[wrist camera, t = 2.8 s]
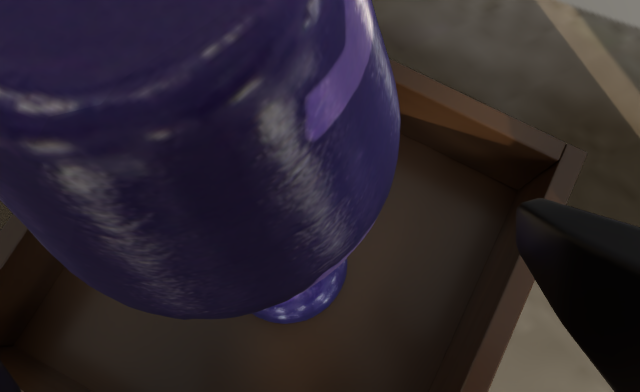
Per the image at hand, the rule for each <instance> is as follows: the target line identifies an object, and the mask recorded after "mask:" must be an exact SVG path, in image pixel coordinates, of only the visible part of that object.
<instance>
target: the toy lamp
mask: <svg viewBox="0 0 640 392" xmlns="http://www.w3.org/2000/svg"><path fill="white" fill-rule="evenodd" d="M400 123H401V118H400V108H399V100H398V94H397V89H396V83H395V79H394V75H393V72H392V68H391V64H390V61H389V58H388V54H387V51H386V48H385V45H384V41H383V38H382V35H381V32H380V29H379V26H378V22H377V18H376V15H375V11H374V8H373V4H372V0H0V201H1V202H2V203H3V204H4V205H5V206H6V207H7V208H8V209H9V210H10V211H11V212H12V213H13V214H14V215H15V216H16V217H17V218H18V219H19V220H20V221H21V222H22V223H23V224H24V225H25V226H26V227H27V228H28V230H29V231H30V232H31V233H32V234H33V235H34V236H35V237H36V239H37V240H38V241H39V242H40V243H41V244H42V245H43V246H44V247H45V248H46V249H47V250H48V251H49V252H50V253H51V254H52V255H53V256H54V257H55V258H56V259H57V260H58V261H59V262H61V263H62V264H63V265H64V266H65V267H66V268H67V269H68V270H69V271H70V272H71V273H73V274H74V275H75V276H77V277H78V278H79V279H81V280H82V281H83V282H85V283H86V284H87V285H89V286H90V287H92V288H94V289H95V290H97V291H99V292H101V293H102V294H104V295H106V296H108V297H110V298H112V299H114V300H116V301H118V302H120V303H122V304H124V305H126V306H128V307H131V308H134V309H137V310H140V311H143V312H147V313H151V314H156V315H161V316H165V317H170V318H176V319H183V320H187V319H225V318H234V317H238V316H243V315H247V314H253V315H255V316H256V317H258V318H261V319H264V320H266V321H268V322H273V323H280V324H289V323H296V322H301V321H305V320H308V319H310V318H313V317H314V316H316V315H318V314H319V313H321V312H322V311H323V310H324V309H326V308H327V307H329V305H330V304H331V303H332V302H333V301H334V300H335V298H336V297H337V295H338V294H339V292H340V290H341V289H342V286H343V283H344V282H345V278H346V274H347V257H348V256H349V255H350V254H351V253H352V252H353V251H354V249H355V248H356V247H357V246H358V245H359V244H360V243H361V241H362V240H363V239H364V238H365V236H366V235H367V233H368V232H369V230H370V229H371V228H372V226H373V225H374V223H375V221H376V219H377V217H378V215H379V213H380V211H381V209H382V207H383V205H384V203H385V201H386V199H387V197H388V194H389V191H390V188H391V186H392V182H393V178H394V174H395V169H396V164H397V159H398V151H399V141H400Z"/></svg>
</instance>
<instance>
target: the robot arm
mask: <svg viewBox="0 0 640 392" xmlns="http://www.w3.org/2000/svg"><path fill="white" fill-rule="evenodd" d="M516 245H517V249H518V251H519V254H520V255H521V257H522V259H523V260H524V262H525V264H526V265H527V267H528V269H529V270H530V272H531V274H532V275H533V277H534V279H535V280H536V282H537V284H538V285H539V287H540V289H541V290H542V292H543V293H544V295H545V297H546V298H547V300H548V302H549V303H550V305H551V307H552V308H553V310H554V312H555V313H556V315H557V316H558V318H559V319H560V321H561V322H562V324H563V325H564V327H565V328H566V329H567V331H568V332H569V333H570V335H571V336H572V337H573V339H574V340H575V341H576V342H577V344H578V345H579V346H580V348H581V349H582V350H583V352H584V353H585V354H586V355H587V357H588V358H589V359H590V361H591V362H592V363H593V364H594V366H595V367H596V368H597V370H598V371H599V372H600V374H601V375H602V376H603V377H604V379H605V380H606V381H607V383H608V384H609V385H610V386H611V388H612V389H613V390H614V392H640V227H637V226H634V225H631V224H627V223H624V222H621V221H617V220H614V219H611V218H607V217H604V216H600V215H597V214H594V213H590V212H587V211H584V210H580V209H577V208H574V207H570V206H567V205H564V204H560V203H557V202H554V201H550V200H547V199H544V198H536V199H533V200H529V201H526V202H522V203H520V204H519V205H518V206H517V209H516ZM0 392H21V390H20V387H19V386H18V384H17V383H16V381H15V380H14V378H13V377H12V375H11V374H10V373H9V371H8V370H7V368H6V367H5V366H4V364H3V363H2V361H1V360H0Z"/></svg>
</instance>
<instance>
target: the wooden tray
mask: <svg viewBox="0 0 640 392" xmlns="http://www.w3.org/2000/svg"><path fill="white" fill-rule="evenodd" d="M389 61H390V64H391V68H392V72H393V75H394V79H395V83H396V89H397V94H398V100H399V108H400V118H401V123H400V141H399V151H398V159H397V164H396V169H395V174H394V178H393V182H392V186H391V188H390V191H389V194H388V197H387V199H386V201H385V203H384V205H383V207H382V209H381V211H380V213H379V215H378V217H377V219H376V221H375V223H374V225H373V226H372V228H371V229H370V230H369V232H368V233H367V235H366V236H365V238H364V239H363V240H362V241H361V243H360V244H359V245H358V246H357V247H356V248H355V249H354V251H353V252H352V253H351V254H350V255H349V256H348V257H347V274H346V278H345V282H344V283H343V286H342V289H341V290H340V292H339V294H338V295H337V297H336V298H335V300H334V301H333V302H332V303H331V304H330V305H329V307H327V308H326V309H324V310H323V311H322V312H321V313H319V314H318V315H316V316H314V317H313V318H310V319H308V320H305V321H301V322H296V323H289V324H280V323H273V322H268V321H266V320H264V319H261V318H258V317H256V316H255V315H253V314H247V315H243V316H238V317H234V318H225V319H187V320H183V319H176V318H170V317H165V316H161V315H156V314H151V313H147V312H143V311H140V310H137V309H134V308H131V307H128V306H126V305H124V304H122V303H120V302H118V301H116V300H114V299H112V298H110V297H108V296H106V295H104V294H102V293H101V292H99V291H97V290H95V289H94V288H92V287H90V286H89V285H87V284H86V283H85V282H83V281H82V280H81V279H79V278H78V277H77V276H75V275H74V274H73V273H71V272H70V271H69V270H68V269H67V268H66V267H65V266H64V265H63V264H62V263H61V262H59V261H58V260H57V259H56V258H55V257H54V256H53V255H52V254H51V253H50V252H49V251H48V250H47V249H46V248H45V247H44V246H43V245H42V244H41V243H40V242H39V241H38V240H37V239H36V237H35V236H34V235H33V234H32V233H31V232H30V231H29V230H28V228H27V227H26V226H25V225H24V224H23V223H22V222H21V221H20V220H19V219H18V218H17V217H16V216H15V215H14V214H13V213H12V215H11V216H10V217H9V219H8V220H7V222H6V223H5V225H4V226H3V228H2V229H1V230H0V360H1V361H2V363H3V364H4V366H5V367H6V368H7V370H8V371H9V373H10V374H11V375H12V377H13V378H14V380H15V381H16V383H17V384H18V386H19V387H20V390H21V392H488V391H489V388H490V386H491V383H492V381H493V379H494V376H495V374H496V371H497V369H498V367H499V364H500V362H501V359H502V357H503V355H504V352H505V350H506V348H507V345H508V343H509V340H510V338H511V336H512V333H513V331H514V328H515V326H516V324H517V321H518V319H519V316H520V314H521V312H522V309H523V307H524V305H525V302H526V300H527V297H528V295H529V293H530V290H531V288H532V285H533V283H534V281H535V279H534V277H533V275H532V274H531V272H530V270H529V269H528V267H527V265H526V264H525V262H524V260H523V259H522V257H521V255H520V254H519V251H518V249H517V245H516V209H517V206H518V205H519V204H520V203H522V202H526V201H529V200H533V199H536V198H544V199H547V200H550V201H554V202H557V203H560V204H564V205H566V204H567V202H568V199H569V197H570V195H571V192H572V190H573V188H574V185H575V183H576V180H577V178H578V176H579V173H580V171H581V168H582V166H583V164H584V161H585V159H586V156H587V152H585V151H583V150H581V149H579V148H577V147H575V146H573V145H571V144H566V143H565V142H564V141H562V140H560V139H557V138H555V137H553V136H551V135H549V134H547V133H545V132H543V131H541V130H539V129H536V128H534V127H532V126H530V125H528V124H526V123H524V122H522V121H520V120H518V119H515V118H513V117H511V116H509V115H507V114H505V113H503V112H501V111H499V110H497V109H494V108H492V107H490V106H488V105H486V104H484V103H482V102H480V101H478V100H476V99H473V98H471V97H469V96H467V95H465V94H463V93H461V92H459V91H457V90H455V89H452V88H450V87H448V86H446V85H444V84H442V83H440V82H438V81H436V80H434V79H431V78H429V77H427V76H425V75H423V74H421V73H419V72H417V71H415V70H413V69H410V68H408V67H406V66H404V65H402V64H400V63H398V62H396V61H394V60H392V59H389Z"/></svg>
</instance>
